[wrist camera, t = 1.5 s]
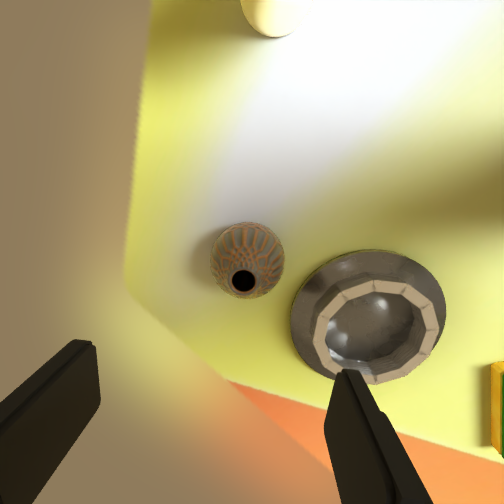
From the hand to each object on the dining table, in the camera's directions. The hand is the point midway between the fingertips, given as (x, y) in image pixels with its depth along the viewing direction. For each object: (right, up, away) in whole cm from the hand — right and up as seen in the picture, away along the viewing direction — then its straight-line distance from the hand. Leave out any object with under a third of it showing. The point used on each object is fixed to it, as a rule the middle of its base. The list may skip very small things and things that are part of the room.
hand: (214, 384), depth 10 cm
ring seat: (+14, -3, +19) cm, 24 cm away
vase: (+1, +6, +18) cm, 19 cm away
